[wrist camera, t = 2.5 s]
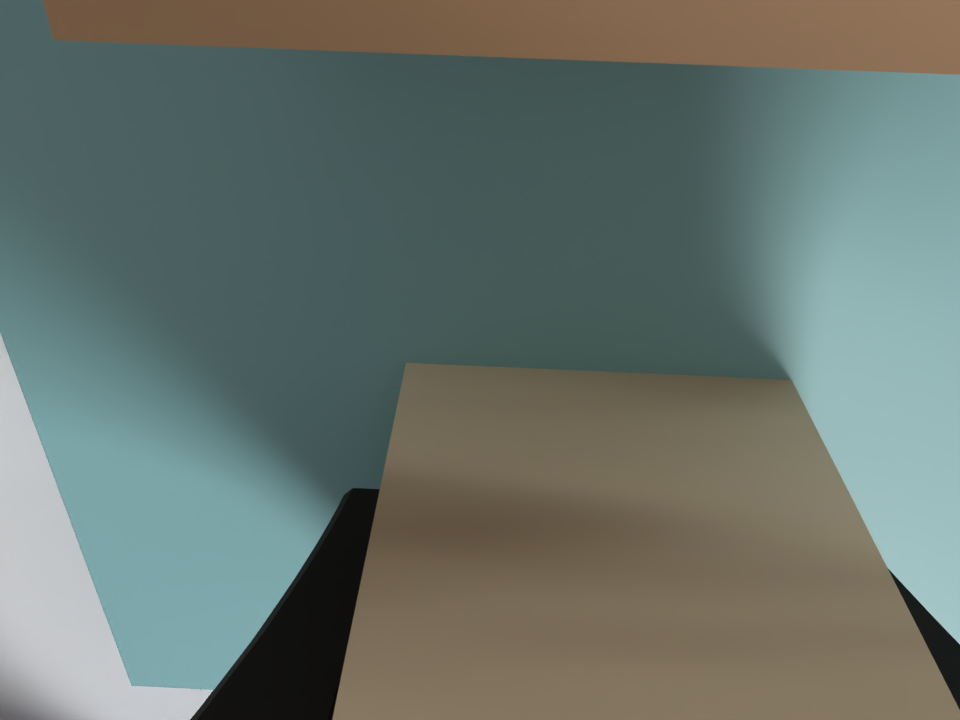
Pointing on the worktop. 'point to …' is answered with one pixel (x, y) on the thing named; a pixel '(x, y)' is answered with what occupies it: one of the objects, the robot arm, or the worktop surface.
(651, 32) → the walnut block
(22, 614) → the worktop surface
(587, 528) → the maple block
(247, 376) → the build board
